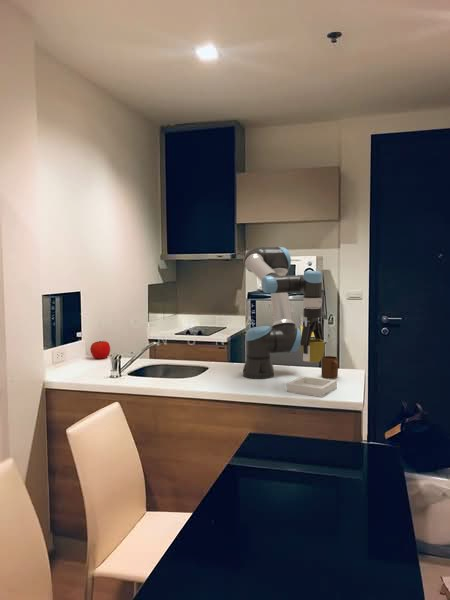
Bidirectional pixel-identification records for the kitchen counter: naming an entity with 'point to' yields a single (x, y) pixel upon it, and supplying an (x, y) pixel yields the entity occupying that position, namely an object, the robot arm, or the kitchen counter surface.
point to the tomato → (100, 349)
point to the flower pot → (315, 349)
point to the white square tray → (312, 386)
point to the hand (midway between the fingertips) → (312, 358)
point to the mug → (329, 367)
